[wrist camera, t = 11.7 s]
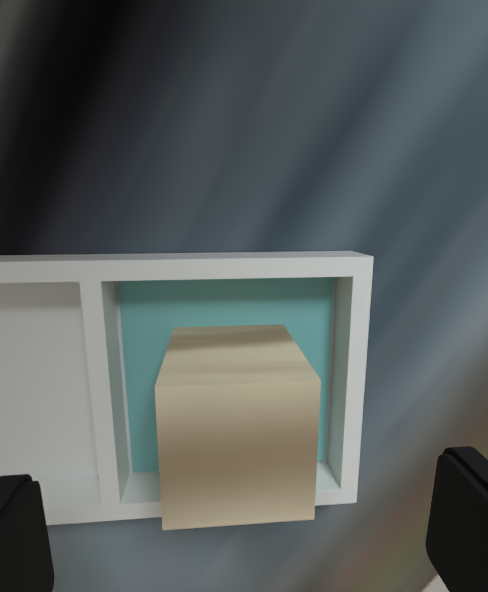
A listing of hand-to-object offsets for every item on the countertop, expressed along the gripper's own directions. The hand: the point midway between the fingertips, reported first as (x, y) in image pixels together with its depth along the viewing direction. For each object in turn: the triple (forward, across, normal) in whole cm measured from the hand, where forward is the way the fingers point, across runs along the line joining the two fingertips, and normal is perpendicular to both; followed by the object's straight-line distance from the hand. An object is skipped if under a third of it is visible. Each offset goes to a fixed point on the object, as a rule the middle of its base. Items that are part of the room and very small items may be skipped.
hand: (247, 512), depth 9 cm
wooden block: (+9, 0, +1) cm, 9 cm away
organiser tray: (+10, +5, +1) cm, 11 cm away
